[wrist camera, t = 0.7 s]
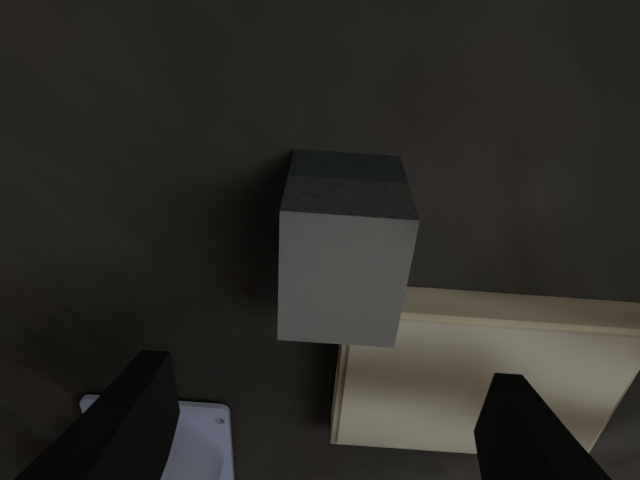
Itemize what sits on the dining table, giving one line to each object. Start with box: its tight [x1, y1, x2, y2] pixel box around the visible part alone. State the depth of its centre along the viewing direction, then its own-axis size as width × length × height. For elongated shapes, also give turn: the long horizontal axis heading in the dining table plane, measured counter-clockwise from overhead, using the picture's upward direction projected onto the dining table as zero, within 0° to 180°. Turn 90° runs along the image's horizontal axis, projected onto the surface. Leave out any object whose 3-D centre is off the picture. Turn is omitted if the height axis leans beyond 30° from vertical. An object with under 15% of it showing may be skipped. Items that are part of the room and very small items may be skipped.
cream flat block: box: [331, 286, 640, 454], centre depth 22 cm, size 9×13×2 cm
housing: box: [278, 149, 420, 348], centre depth 17 cm, size 5×4×5 cm
